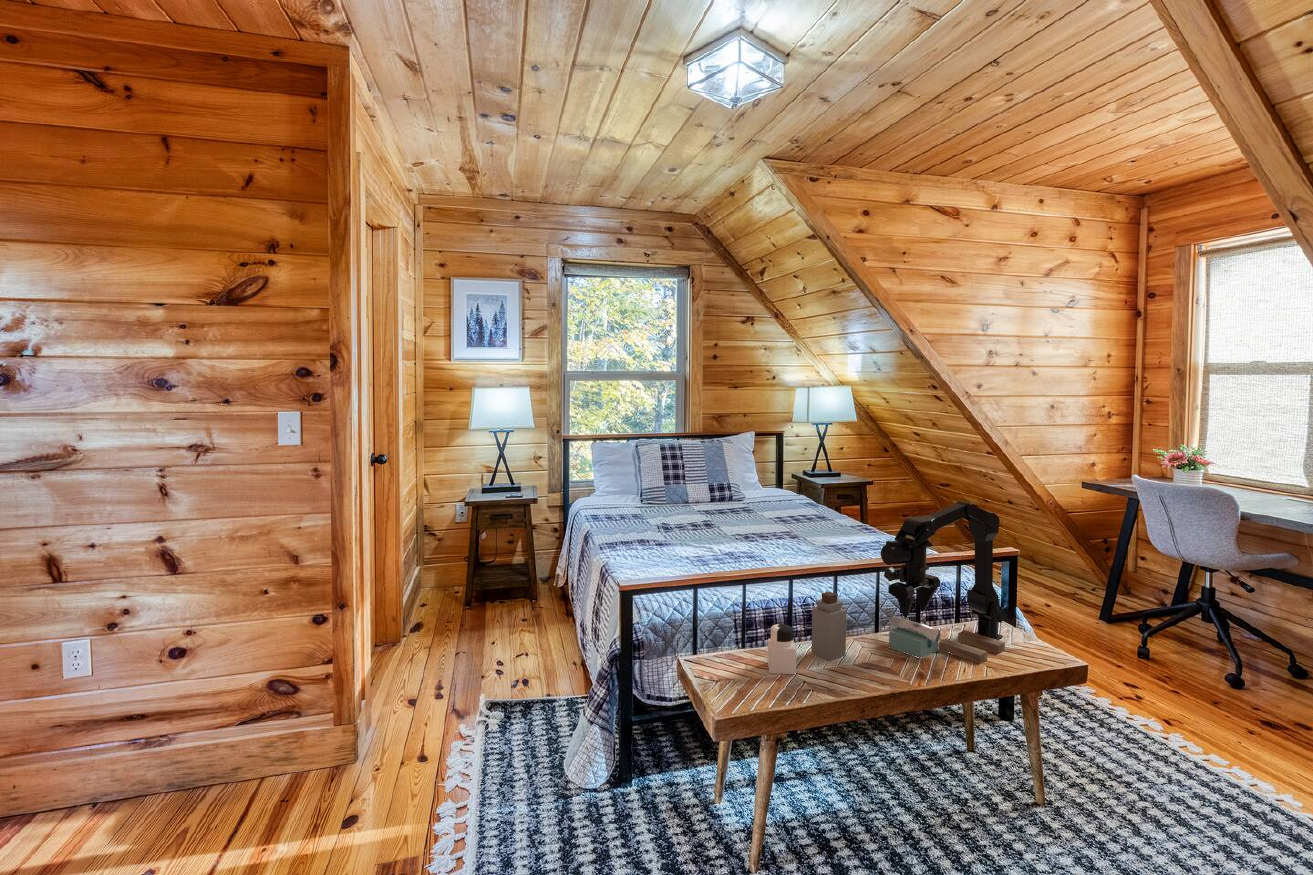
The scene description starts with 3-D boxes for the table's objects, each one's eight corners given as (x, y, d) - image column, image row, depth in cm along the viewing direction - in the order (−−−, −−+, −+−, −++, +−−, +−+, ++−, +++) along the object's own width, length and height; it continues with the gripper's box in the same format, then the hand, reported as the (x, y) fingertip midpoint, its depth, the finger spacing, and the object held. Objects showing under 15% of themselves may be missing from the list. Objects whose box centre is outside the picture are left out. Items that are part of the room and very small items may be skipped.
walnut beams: (964, 637, 196) (964, 630, 196) (1004, 650, 187) (1005, 642, 186) (939, 649, 187) (939, 641, 187) (980, 663, 178) (980, 655, 177)
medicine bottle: (793, 663, 178) (793, 621, 177) (796, 674, 171) (796, 631, 170) (767, 662, 178) (767, 621, 178) (769, 673, 171) (769, 630, 170)
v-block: (906, 639, 194) (907, 623, 194) (937, 650, 187) (938, 633, 186) (888, 647, 189) (889, 631, 188) (920, 658, 181) (920, 641, 180)
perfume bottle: (845, 655, 183) (846, 594, 182) (829, 661, 179) (831, 599, 178) (827, 647, 189) (828, 588, 187) (811, 653, 185) (812, 592, 183)
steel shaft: (889, 628, 192) (889, 617, 191) (896, 625, 194) (896, 614, 193) (933, 643, 181) (934, 631, 180) (940, 639, 183) (940, 627, 182)
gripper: (907, 551, 198) (906, 600, 199) (872, 561, 186) (871, 612, 187) (942, 559, 189) (940, 610, 190) (907, 569, 178) (905, 623, 179)
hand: (913, 613), depth 187 cm, fingers open, 9 cm apart
